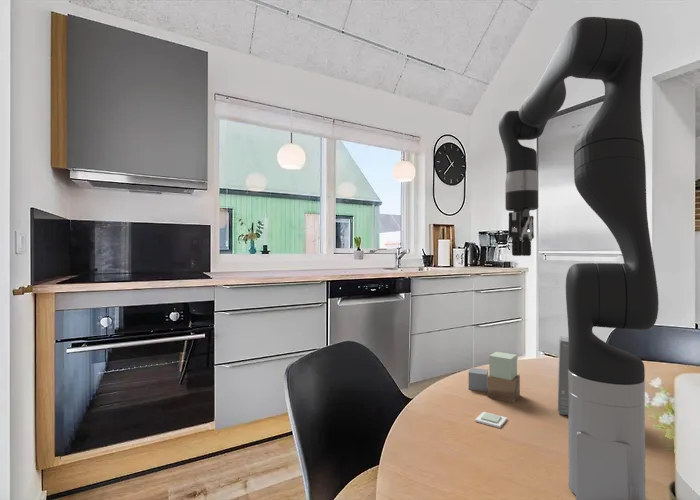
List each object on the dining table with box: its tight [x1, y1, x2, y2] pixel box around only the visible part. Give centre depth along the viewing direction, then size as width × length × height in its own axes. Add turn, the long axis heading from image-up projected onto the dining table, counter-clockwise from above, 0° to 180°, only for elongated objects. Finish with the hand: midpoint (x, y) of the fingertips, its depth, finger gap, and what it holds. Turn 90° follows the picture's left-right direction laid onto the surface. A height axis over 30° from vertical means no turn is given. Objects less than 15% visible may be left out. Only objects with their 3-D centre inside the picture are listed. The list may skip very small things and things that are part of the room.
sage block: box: [488, 351, 518, 380], centre depth 94 cm, size 5×5×5 cm
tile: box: [474, 411, 508, 429], centre depth 81 cm, size 5×5×1 cm
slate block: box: [468, 367, 489, 393], centre depth 100 cm, size 4×4×4 cm
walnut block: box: [487, 374, 521, 403], centre depth 94 cm, size 6×6×5 cm
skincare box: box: [557, 336, 569, 416], centre depth 85 cm, size 8×7×16 cm
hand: (521, 255), depth 97 cm, fingers open, 8 cm apart
